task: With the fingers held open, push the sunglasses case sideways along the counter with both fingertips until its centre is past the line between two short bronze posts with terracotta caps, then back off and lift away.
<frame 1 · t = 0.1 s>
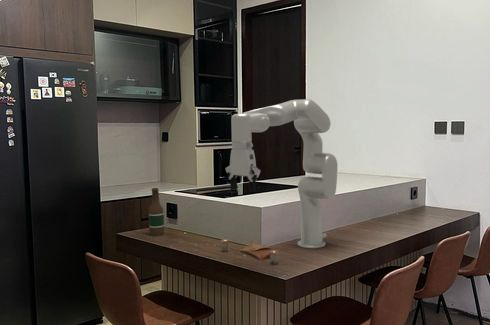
hand: (242, 190, 184), 31 cm above the counter, tool pointing down, fingers open, 9 cm apart
beer bottle: (157, 234, 247), on the counter
line post 1: (225, 251, 213), on the counter
sunglasses case: (257, 255, 208), on the counter
line post 2: (273, 263, 194), on the counter
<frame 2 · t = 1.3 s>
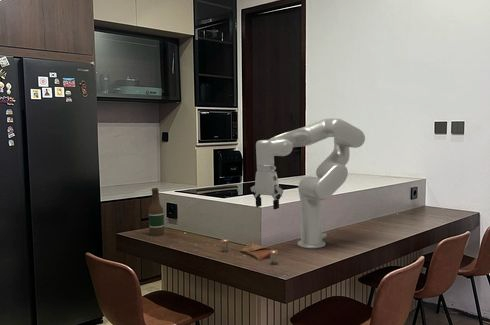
hand: (267, 207, 208), 20 cm above the counter, tool pointing down, fingers open, 9 cm apart
nothing on the counter moved.
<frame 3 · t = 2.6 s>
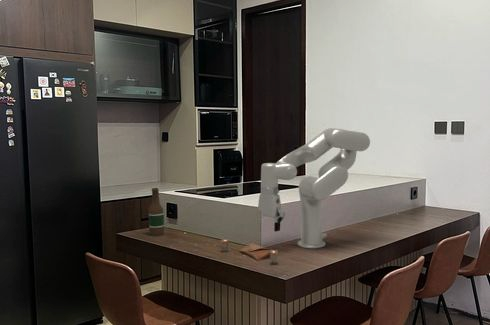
hand: (268, 229, 213), 9 cm above the counter, tool pointing down, fingers open, 9 cm apart
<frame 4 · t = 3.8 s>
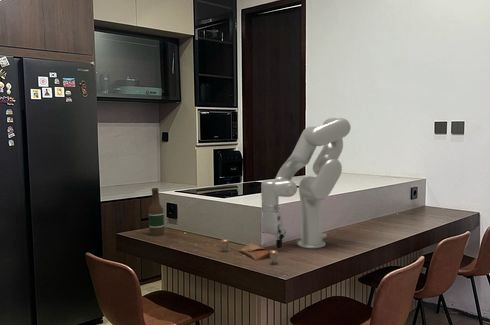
hand: (270, 246, 214), 2 cm above the counter, tool pointing down, fingers open, 9 cm apart
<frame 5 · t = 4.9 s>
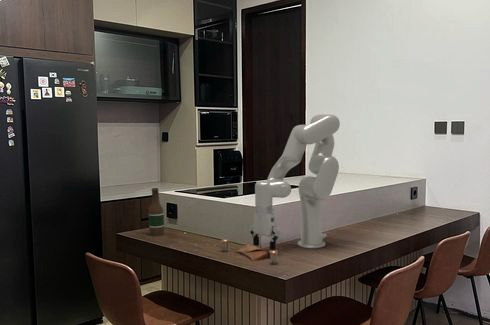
hand: (264, 247, 211), 2 cm above the counter, tool pointing down, fingers open, 9 cm apart
sunglasses case: (252, 256, 207), on the counter, touching gripper
everything else where it was.
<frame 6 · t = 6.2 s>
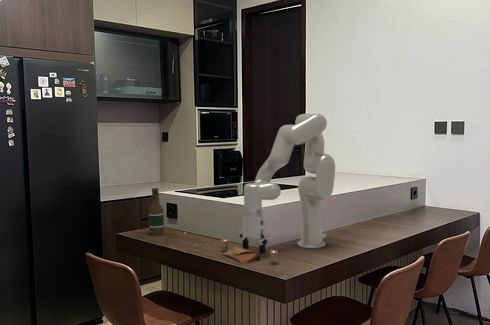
hand: (253, 251, 206), 2 cm above the counter, tool pointing down, fingers open, 9 cm apart
sunglasses case: (239, 259, 203), on the counter
everything else where it was.
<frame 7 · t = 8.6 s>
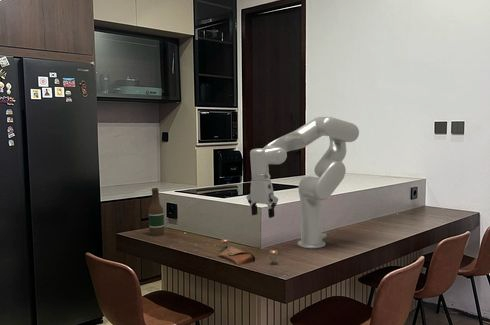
hand: (263, 216, 209), 16 cm above the counter, tool pointing down, fingers open, 9 cm apart
sunglasses case: (235, 260, 202), on the counter
everything else where it was.
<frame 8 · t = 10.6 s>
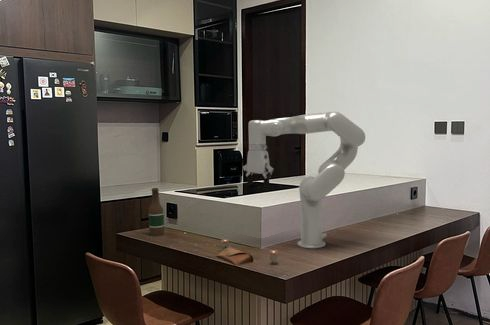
hand: (258, 185, 215), 28 cm above the counter, tool pointing down, fingers open, 9 cm apart
nothing on the counter moved.
at the end: sunglasses case inside the target area (3.4 cm from its centre), on the counter; sunglasses case moved 12.4 cm from its start; sunglasses case tilted 1° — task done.
